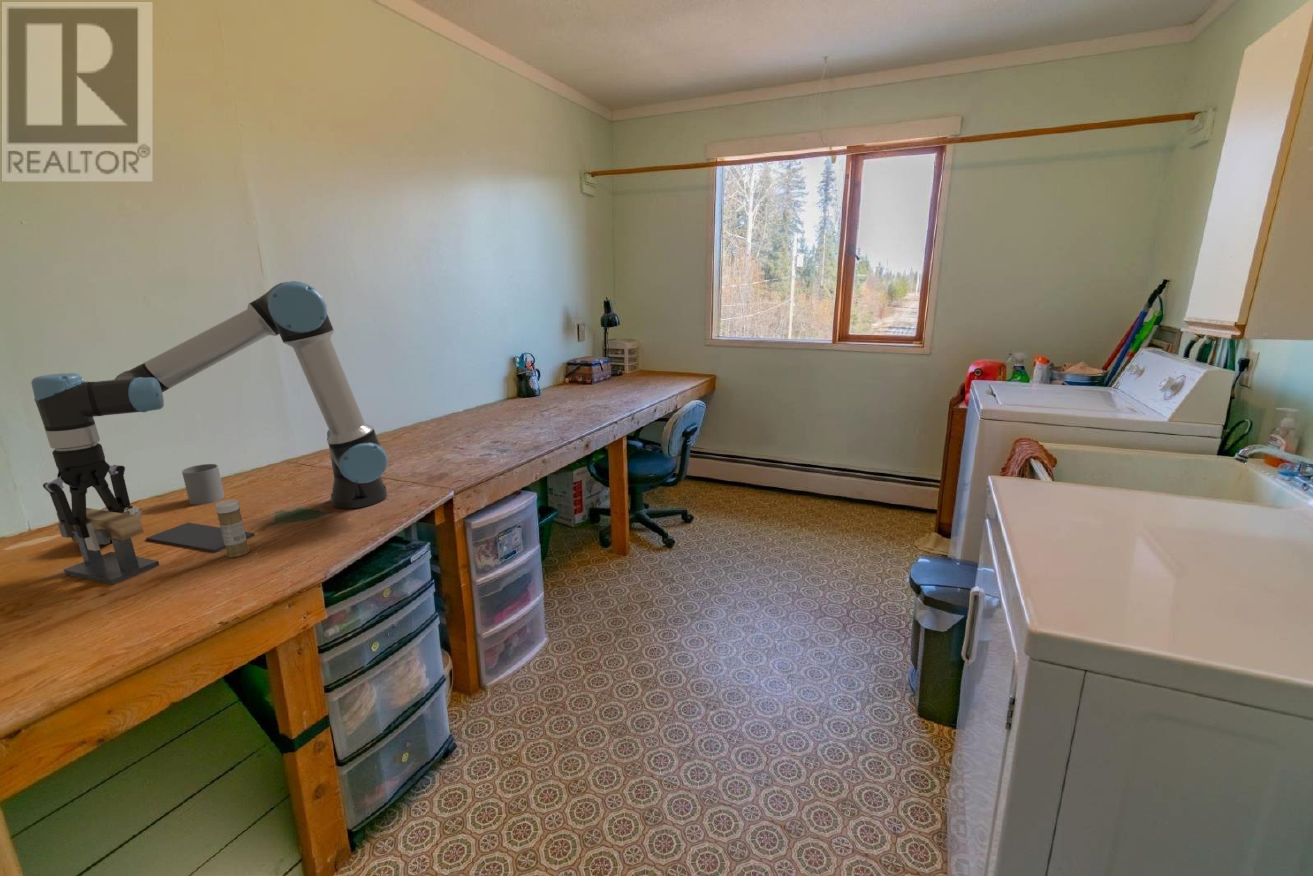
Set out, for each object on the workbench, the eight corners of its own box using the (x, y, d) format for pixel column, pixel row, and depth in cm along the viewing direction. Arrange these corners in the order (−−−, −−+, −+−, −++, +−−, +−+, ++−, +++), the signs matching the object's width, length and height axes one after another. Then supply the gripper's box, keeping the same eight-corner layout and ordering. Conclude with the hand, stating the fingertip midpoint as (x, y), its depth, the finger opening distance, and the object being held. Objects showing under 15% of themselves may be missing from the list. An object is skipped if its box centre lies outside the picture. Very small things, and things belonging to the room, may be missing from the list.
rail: (143, 532, 123) (139, 516, 122) (122, 540, 120) (117, 523, 119) (83, 522, 129) (78, 506, 128) (61, 529, 125) (56, 513, 124)
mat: (254, 535, 144) (254, 533, 144) (215, 552, 135) (215, 550, 135) (188, 524, 151) (187, 522, 151) (146, 540, 141) (146, 538, 141)
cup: (183, 505, 163) (176, 474, 161) (197, 496, 171) (190, 465, 168) (217, 502, 166) (209, 471, 163) (229, 493, 173) (222, 463, 171)
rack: (159, 565, 129) (146, 517, 125) (113, 584, 120) (98, 534, 117) (112, 556, 133) (98, 510, 130) (64, 574, 125) (49, 525, 122)
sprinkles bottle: (247, 547, 137) (236, 497, 134) (251, 553, 134) (240, 502, 131) (224, 554, 134) (212, 502, 130) (228, 560, 131) (216, 507, 127)
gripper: (111, 434, 128) (138, 527, 134) (11, 456, 112) (46, 560, 118) (134, 436, 126) (160, 531, 132) (35, 459, 110) (70, 564, 116)
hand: (106, 544), depth 125 cm, fingers closed on rail, 4 cm apart
